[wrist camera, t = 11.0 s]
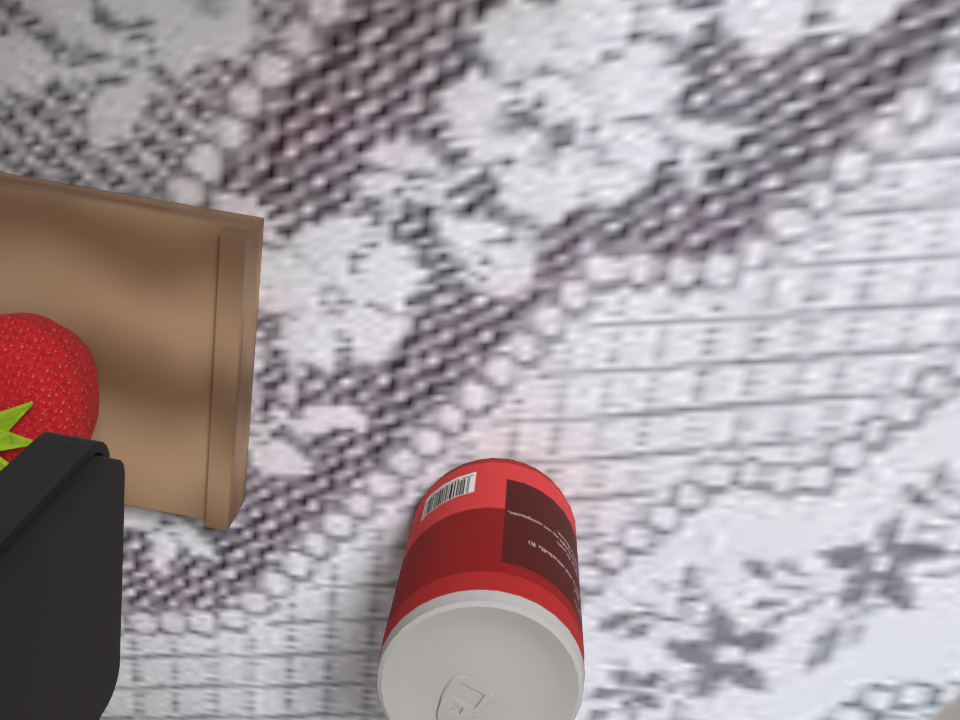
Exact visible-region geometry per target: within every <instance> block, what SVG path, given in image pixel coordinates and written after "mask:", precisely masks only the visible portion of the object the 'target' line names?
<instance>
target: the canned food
mask: <svg viewBox="0 0 960 720" xmlns="http://www.w3.org/2000/svg"><path fill="white" fill-rule="evenodd" d="M584 679H585V671H584V646H583V631H582V616H581V601H580V586H579V571H578V555H577V540H576V528H575V519H574V516H573V513H572V510H571V507H570V505H569V504H568V502H567V500H566V499H565V497H564V495H563V494H562V492H561V491H560V490H559V488H558V487H557V486H556V485H555V484H554V483H553V482H552V481H551V479H550V478H549V477H547V476H546V475H544V474H543V473H542V472H540V471H539V470H537V469H536V468H533V467H531V466H529V465H527V464H525V463H522V462H518V461H514V460H510V459H498V458H490V459H481V460H476V461H472V462H469V463H466V464H463V465H461V466H459V467H457V468H455V469H453V470H451V471H449V472H448V473H447V474H446V475H444V476H443V477H442V478H441V479H439V480H438V481H437V482H436V483H435V484H434V485H433V486H432V487H431V489H430V490H429V491H428V492H427V493H426V494H425V496H424V497H423V499H422V500H421V502H420V504H419V506H418V508H417V510H416V513H415V516H414V520H413V523H412V527H411V531H410V535H409V539H408V543H407V547H406V551H405V555H404V559H403V563H402V567H401V571H400V575H399V579H398V583H397V587H396V591H395V595H394V599H393V603H392V607H391V611H390V615H389V619H388V623H387V627H386V631H385V635H384V639H383V643H382V649H381V653H380V657H379V662H378V676H377V691H378V696H379V701H380V705H381V707H382V709H383V712H384V714H385V716H386V718H387V720H575V718H576V715H577V713H578V710H579V708H580V706H581V702H582V695H583V689H584Z"/></svg>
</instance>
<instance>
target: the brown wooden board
mask: <svg viewBox="0 0 960 720" xmlns="http://www.w3.org/2000/svg"><path fill="white" fill-rule="evenodd" d="M263 226H264V218H259V217H254V216H248V215H242V214H236V213H231V212H225V211H219V210H213V209H207V208H202V207H196V206H190V205H184V204H179V203H173V202H167V201H161V200H155V199H150V198H144V197H138V196H132V195H127V194H121V193H115V192H109V191H104V190H98V189H92V188H86V187H80V186H75V185H69V184H63V183H57V182H52V181H46V180H40V179H34V178H28V177H23V176H17V175H11V174H5V173H0V315H1V314H11V313H20V312H23V313H35V314H38V315H41V316H44V317H47V318H49V319H51V320H53V321H54V322H56V323H58V324H60V325H62V326H63V327H65V328H67V329H69V330H70V331H72V332H74V333H75V334H76V335H77V336H79V337H80V338H81V339H82V341H83V342H84V343H85V344H86V345H87V347H88V348H89V349H90V351H91V353H92V356H93V358H94V361H95V363H96V367H97V372H98V386H99V412H98V419H97V422H96V425H95V429H94V432H93V434H92V436H91V438H90V439H91V440H96V441H101V442H104V443H105V444H106V445H107V447H108V450H109V453H110V458H113V459H118V460H121V461H122V462H123V464H124V468H125V492H124V505H127V506H133V507H138V508H144V509H150V510H156V511H162V512H167V513H173V514H179V515H185V516H191V517H196V518H202V519H206V526H205V527H208V528H214V529H220V530H226V531H227V530H228V528H229V527H230V525H231V523H232V521H233V520H234V518H235V516H236V515H237V513H238V511H239V509H240V508H241V506H242V504H243V502H244V499H245V485H246V471H247V456H248V442H249V428H250V413H251V399H252V384H253V370H254V356H255V341H256V327H257V312H258V298H259V284H260V269H261V255H262V240H263Z"/></svg>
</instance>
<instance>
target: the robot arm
mask: <svg viewBox="0 0 960 720" xmlns="http://www.w3.org/2000/svg"><path fill="white" fill-rule="evenodd" d="M124 492H125V468H124V464H123V462H122V461H121V460H118V459H113V458H110V453H109V450H108V447H107V445H106V444H105V443H104V442H101V441H96V440H91V439H85V438H80V437H75V436H69V435H64V434H59V433H54V432H44V433H43V434H41V435H39V436H38V437H37V438H36V439H35V440H34V441H32V442H31V443H30V444H29V445H28V446H27V447H26V448H25V449H24V450H23V451H22V452H21V453H20V454H18V455H17V456H16V457H15V458H14V459H13V460H12V461H11V462H10V463H9V464H8V465H7V466H5V467H4V468H3V469H2V470H1V471H0V720H99V718H100V717H101V715H102V713H103V712H104V710H105V708H106V707H107V705H108V703H109V701H110V699H111V697H112V694H113V691H114V689H115V685H116V682H117V678H118V674H119V666H120V635H121V600H122V564H123V528H124Z"/></svg>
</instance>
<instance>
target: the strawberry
mask: <svg viewBox="0 0 960 720" xmlns="http://www.w3.org/2000/svg"><path fill="white" fill-rule="evenodd" d="M98 412H99V386H98V372H97V367H96V363H95V361H94V358H93V356H92V353H91V351H90V349H89V348H88V347H87V345H86V344H85V343H84V342H83V341H82V339H81V338H80V337H79V336H77V335H76V334H75V333H74V332H72V331H70V330H69V329H67V328H65V327H63V326H62V325H60V324H58V323H56V322H54V321H53V320H51V319H49V318H47V317H44V316H41V315H38V314H35V313H23V312H20V313H11V314H1V315H0V471H1V470H2V469H3V468H4V467H5V466H7V465H8V464H9V463H10V462H11V461H12V460H13V459H14V458H15V457H16V456H17V455H18V454H20V453H21V452H22V451H23V450H24V449H25V448H26V447H27V446H28V445H29V444H30V443H31V442H32V441H34V440H35V439H36V438H37V437H38V436H39V435H41V434H43V433H44V432H54V433H59V434H64V435H69V436H75V437H80V438H85V439H90V438H91V436H92V434H93V432H94V429H95V425H96V422H97V419H98Z"/></svg>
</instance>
